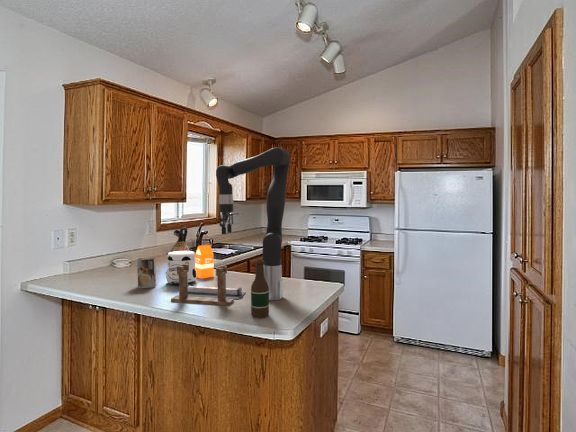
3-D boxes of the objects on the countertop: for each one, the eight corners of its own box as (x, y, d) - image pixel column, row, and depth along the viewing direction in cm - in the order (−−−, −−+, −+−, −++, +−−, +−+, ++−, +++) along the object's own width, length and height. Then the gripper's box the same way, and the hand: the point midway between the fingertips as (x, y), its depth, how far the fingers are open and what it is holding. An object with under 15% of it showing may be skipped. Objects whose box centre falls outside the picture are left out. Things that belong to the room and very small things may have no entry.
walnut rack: (233, 301, 179) (233, 266, 178) (229, 305, 173) (229, 268, 172) (177, 298, 185) (176, 263, 184) (170, 301, 179) (170, 266, 178)
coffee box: (156, 284, 212) (155, 257, 211) (154, 287, 206) (154, 259, 205) (139, 285, 210) (139, 257, 209) (137, 288, 204) (136, 259, 203)
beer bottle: (252, 312, 163) (252, 258, 162) (270, 313, 162) (270, 259, 161) (249, 318, 155) (249, 262, 154) (267, 319, 155) (267, 262, 153)
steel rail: (241, 294, 190) (241, 287, 190) (239, 296, 187) (239, 289, 187) (187, 291, 196) (187, 284, 196) (184, 293, 193) (184, 286, 192)
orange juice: (195, 276, 234) (195, 245, 233) (207, 274, 240) (207, 244, 239) (201, 278, 228) (201, 246, 227) (213, 276, 234) (213, 245, 233)
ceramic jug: (182, 274, 241) (182, 228, 239) (163, 272, 246) (162, 227, 244) (197, 269, 256) (197, 226, 255) (179, 267, 262) (179, 225, 260)
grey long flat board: (245, 293, 194) (245, 292, 194) (238, 299, 183) (238, 298, 183) (189, 290, 201) (189, 289, 201) (179, 296, 189) (179, 295, 189)
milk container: (170, 288, 205) (170, 256, 204) (163, 281, 219) (162, 252, 218) (200, 284, 214) (200, 253, 213) (191, 278, 229) (191, 249, 228)
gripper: (228, 203, 187) (228, 235, 188) (237, 202, 201) (237, 232, 202) (214, 203, 188) (215, 235, 189) (224, 202, 202) (224, 232, 203)
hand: (226, 233), depth 196 cm, fingers open, 8 cm apart
